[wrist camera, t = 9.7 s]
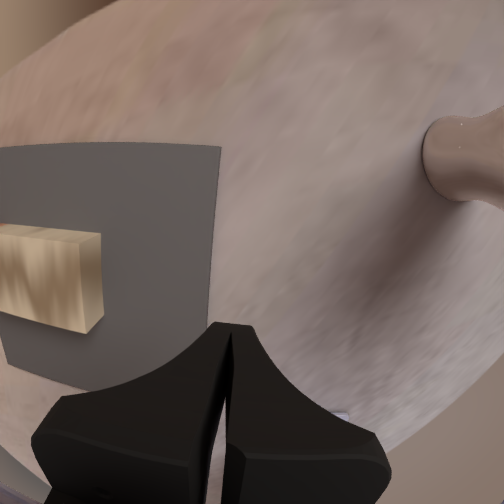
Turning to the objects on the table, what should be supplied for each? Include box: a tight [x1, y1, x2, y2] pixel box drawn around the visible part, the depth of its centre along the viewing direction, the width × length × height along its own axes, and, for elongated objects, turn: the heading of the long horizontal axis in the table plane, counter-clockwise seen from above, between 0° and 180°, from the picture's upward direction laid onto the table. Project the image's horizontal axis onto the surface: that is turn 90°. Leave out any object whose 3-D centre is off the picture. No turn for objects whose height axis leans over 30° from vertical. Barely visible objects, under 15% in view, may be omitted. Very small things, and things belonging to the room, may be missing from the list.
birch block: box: [0, 223, 104, 334], centre depth 19 cm, size 6×3×10 cm
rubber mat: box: [0, 142, 221, 392], centre depth 21 cm, size 20×20×1 cm
